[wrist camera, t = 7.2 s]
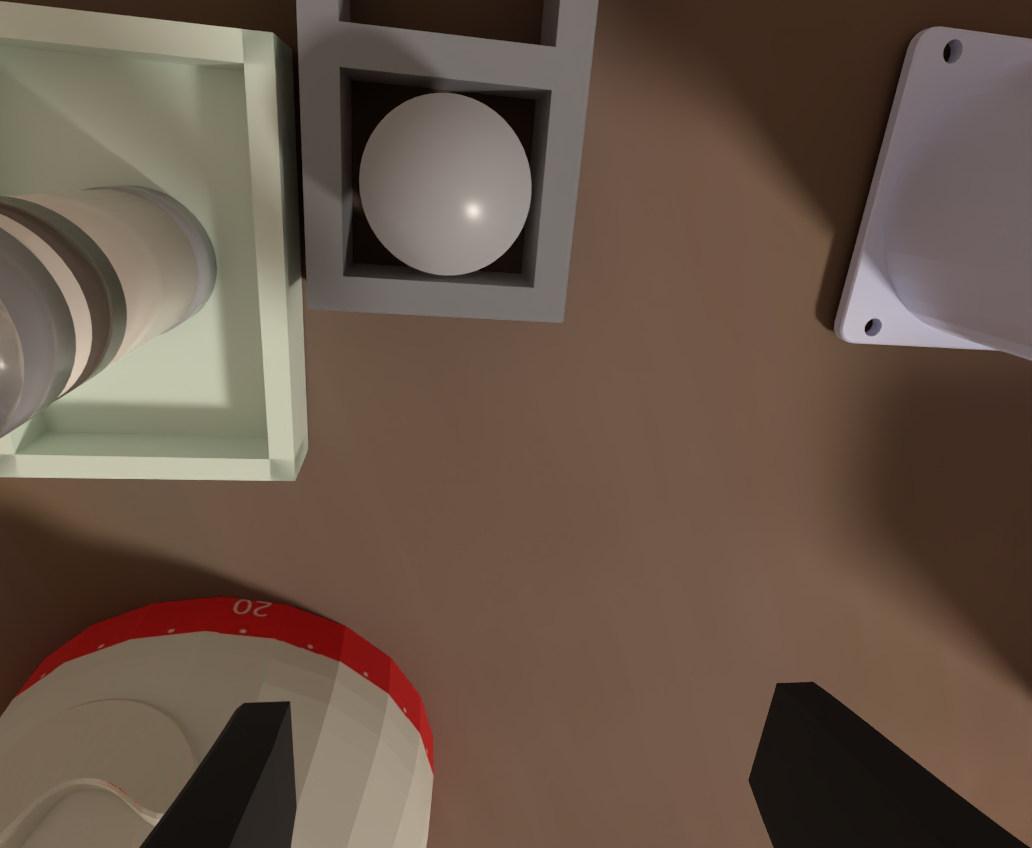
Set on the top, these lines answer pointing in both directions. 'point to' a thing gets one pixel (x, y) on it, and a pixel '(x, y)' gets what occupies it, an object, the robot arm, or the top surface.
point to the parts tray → (204, 192)
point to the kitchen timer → (212, 726)
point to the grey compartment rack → (443, 165)
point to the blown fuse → (90, 286)
